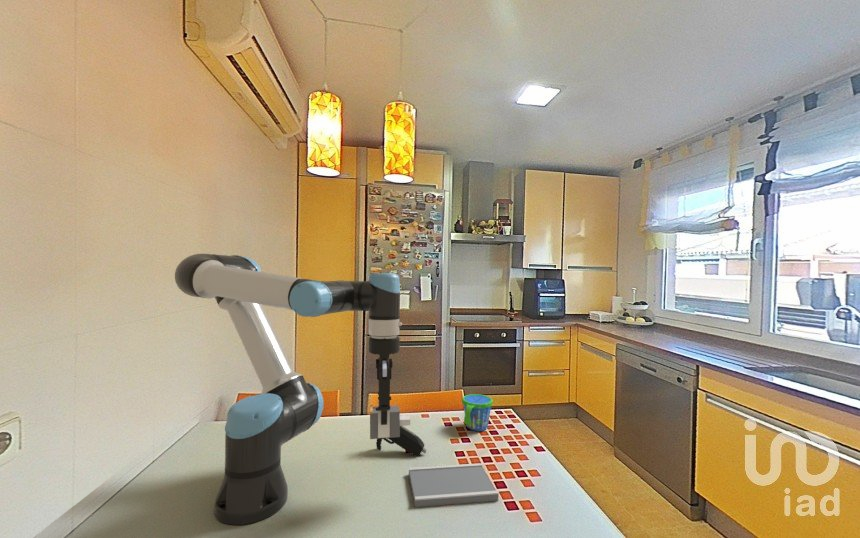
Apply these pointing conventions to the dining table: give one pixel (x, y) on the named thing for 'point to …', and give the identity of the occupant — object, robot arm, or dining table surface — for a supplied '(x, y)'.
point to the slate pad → (451, 485)
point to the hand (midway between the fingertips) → (383, 432)
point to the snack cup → (477, 411)
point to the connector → (395, 422)
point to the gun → (406, 442)
